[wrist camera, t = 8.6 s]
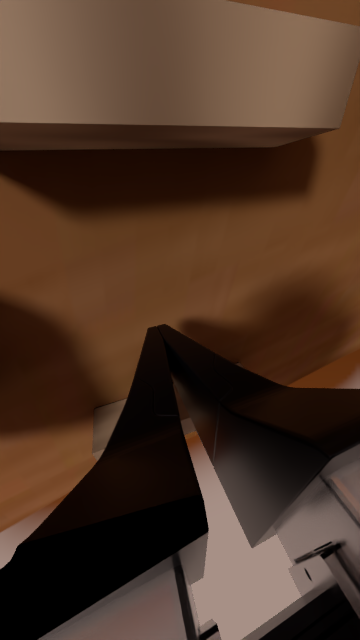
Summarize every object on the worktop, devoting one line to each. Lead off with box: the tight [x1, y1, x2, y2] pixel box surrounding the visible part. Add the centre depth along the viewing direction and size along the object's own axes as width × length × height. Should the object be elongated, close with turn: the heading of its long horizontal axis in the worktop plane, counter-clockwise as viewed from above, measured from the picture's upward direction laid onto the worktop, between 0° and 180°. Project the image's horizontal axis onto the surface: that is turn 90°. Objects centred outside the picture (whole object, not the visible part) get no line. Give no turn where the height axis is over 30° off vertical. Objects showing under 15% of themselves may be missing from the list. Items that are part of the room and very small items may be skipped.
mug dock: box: [0, 0, 360, 461], centre depth 10 cm, size 12×18×3 cm, turn 5°
